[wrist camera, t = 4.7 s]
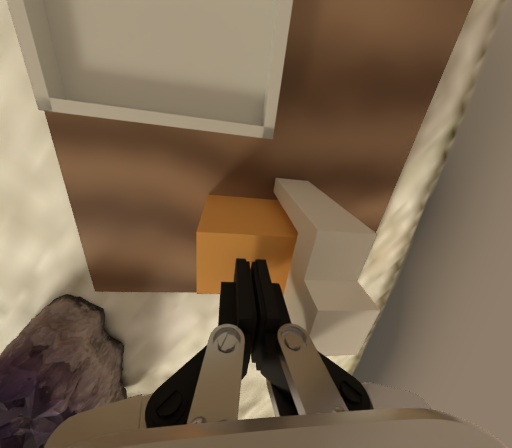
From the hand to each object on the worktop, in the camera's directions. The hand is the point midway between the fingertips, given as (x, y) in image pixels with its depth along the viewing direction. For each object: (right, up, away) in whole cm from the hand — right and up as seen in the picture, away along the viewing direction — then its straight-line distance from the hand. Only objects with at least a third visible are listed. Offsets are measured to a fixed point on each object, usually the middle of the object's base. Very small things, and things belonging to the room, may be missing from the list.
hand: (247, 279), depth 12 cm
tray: (-5, +15, +1) cm, 16 cm away
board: (0, +8, +6) cm, 10 cm away
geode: (-21, -13, +14) cm, 28 cm away
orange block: (+1, +3, +7) cm, 8 cm away
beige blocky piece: (+3, +3, +7) cm, 8 cm away
